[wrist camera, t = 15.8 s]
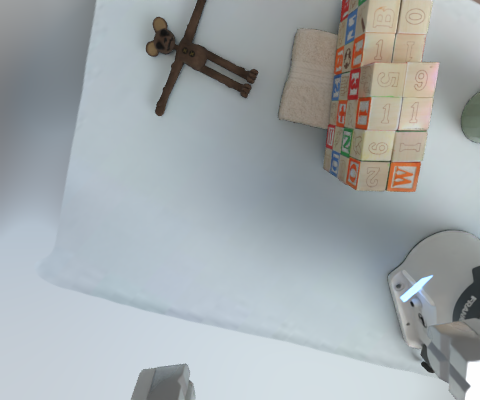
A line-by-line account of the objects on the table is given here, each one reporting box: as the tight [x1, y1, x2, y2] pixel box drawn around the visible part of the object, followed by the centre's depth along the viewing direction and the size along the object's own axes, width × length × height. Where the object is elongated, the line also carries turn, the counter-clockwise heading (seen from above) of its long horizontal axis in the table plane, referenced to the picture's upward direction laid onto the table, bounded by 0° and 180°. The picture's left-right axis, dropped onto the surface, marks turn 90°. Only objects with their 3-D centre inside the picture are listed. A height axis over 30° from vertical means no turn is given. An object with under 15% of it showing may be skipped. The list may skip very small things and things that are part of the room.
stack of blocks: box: [323, 0, 439, 192], centre depth 34 cm, size 21×6×12 cm, turn 178°
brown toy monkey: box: [146, 0, 258, 116], centre depth 40 cm, size 18×4×14 cm
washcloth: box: [278, 28, 338, 130], centre depth 42 cm, size 12×18×3 cm, turn 78°
